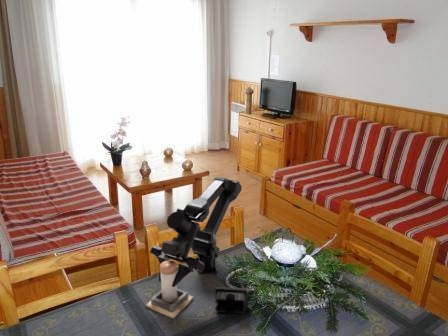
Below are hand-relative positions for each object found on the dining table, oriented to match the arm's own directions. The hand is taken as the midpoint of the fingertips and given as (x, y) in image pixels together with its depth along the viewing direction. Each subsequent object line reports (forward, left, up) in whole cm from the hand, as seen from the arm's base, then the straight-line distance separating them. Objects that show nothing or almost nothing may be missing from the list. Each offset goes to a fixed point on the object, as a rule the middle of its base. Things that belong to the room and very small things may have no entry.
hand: (166, 284), depth 120 cm
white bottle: (-1, -1, -7) cm, 7 cm away
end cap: (-19, +8, -8) cm, 22 cm away
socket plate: (-1, -1, -8) cm, 8 cm away
